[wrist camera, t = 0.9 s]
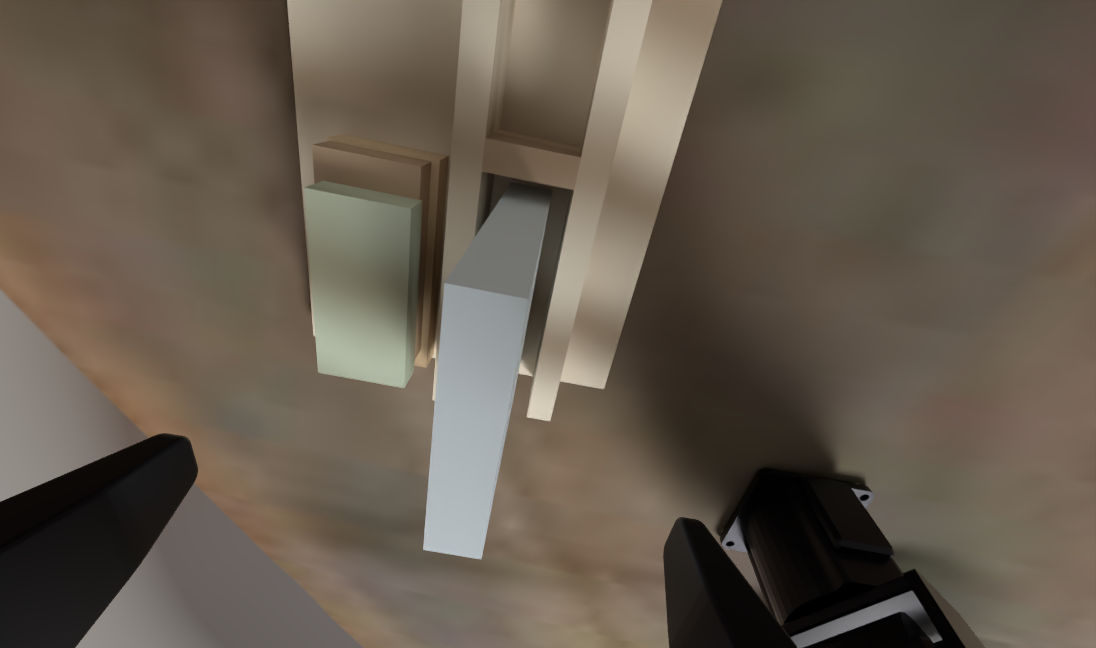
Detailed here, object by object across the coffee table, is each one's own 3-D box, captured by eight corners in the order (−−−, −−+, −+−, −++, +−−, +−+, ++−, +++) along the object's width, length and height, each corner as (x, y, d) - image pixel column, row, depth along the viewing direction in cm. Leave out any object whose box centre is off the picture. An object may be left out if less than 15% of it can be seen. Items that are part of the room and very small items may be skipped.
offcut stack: (433, 353, 21) (408, 400, 18) (349, 337, 21) (308, 383, 18) (448, 155, 17) (418, 171, 14) (342, 133, 17) (287, 144, 13)
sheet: (520, 360, 21) (481, 559, 12) (487, 354, 21) (422, 549, 12) (552, 190, 17) (528, 299, 8) (511, 181, 17) (444, 283, 8)
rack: (602, 377, 22) (607, 431, 19) (324, 325, 22) (275, 371, 18) (768, -178, 13) (841, -277, 9) (284, -293, 12) (168, -446, 9)
